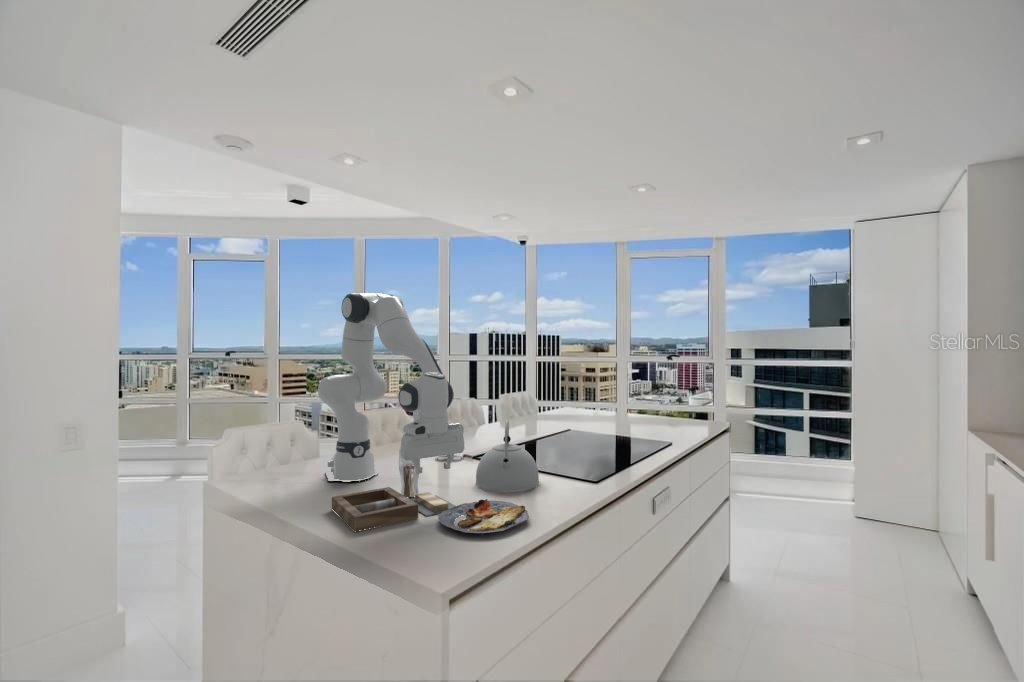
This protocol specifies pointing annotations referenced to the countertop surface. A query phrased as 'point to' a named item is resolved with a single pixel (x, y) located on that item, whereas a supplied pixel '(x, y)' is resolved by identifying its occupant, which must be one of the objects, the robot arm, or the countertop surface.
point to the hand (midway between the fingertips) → (433, 470)
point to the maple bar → (431, 501)
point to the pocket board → (377, 515)
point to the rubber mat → (429, 512)
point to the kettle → (507, 468)
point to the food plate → (484, 516)
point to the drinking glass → (408, 477)
